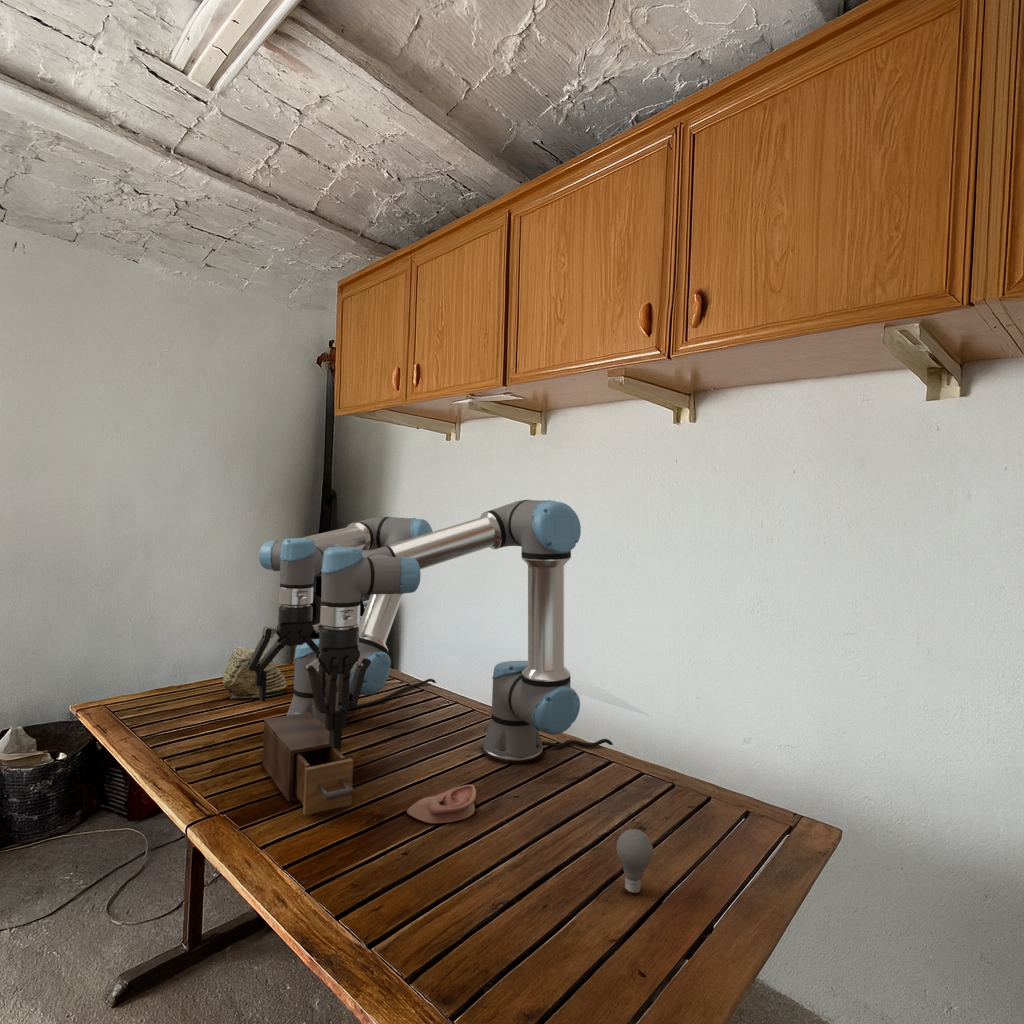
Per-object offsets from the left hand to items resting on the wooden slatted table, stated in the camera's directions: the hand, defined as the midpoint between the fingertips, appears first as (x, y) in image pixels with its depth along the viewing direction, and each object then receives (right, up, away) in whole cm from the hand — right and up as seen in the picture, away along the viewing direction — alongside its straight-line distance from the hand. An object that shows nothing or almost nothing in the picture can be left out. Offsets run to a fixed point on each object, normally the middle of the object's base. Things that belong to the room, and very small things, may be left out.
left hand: (292, 695), depth 148 cm
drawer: (+10, -16, -15) cm, 25 cm away
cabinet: (+3, -17, -5) cm, 18 cm away
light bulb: (+71, -21, -42) cm, 85 cm away
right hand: (+16, -3, -23) cm, 29 cm away
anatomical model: (+37, -19, -18) cm, 45 cm away
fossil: (-29, -14, +50) cm, 60 cm away
